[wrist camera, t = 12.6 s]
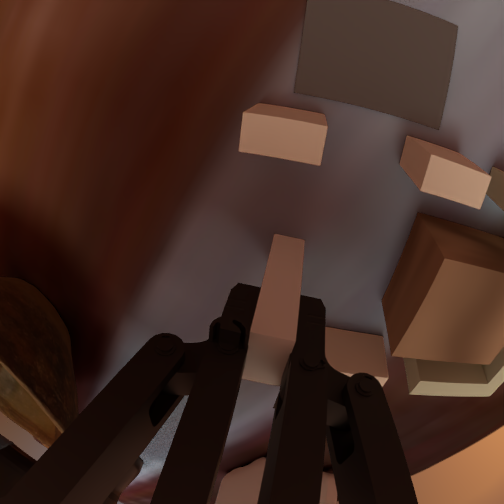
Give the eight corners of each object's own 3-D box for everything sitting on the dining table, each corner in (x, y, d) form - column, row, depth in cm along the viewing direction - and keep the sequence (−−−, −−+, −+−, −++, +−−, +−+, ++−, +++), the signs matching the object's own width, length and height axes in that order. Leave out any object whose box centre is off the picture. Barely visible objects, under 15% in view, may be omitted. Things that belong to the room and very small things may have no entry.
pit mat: (294, 91, 13) (293, 92, 13) (310, -14, 10) (309, -18, 10) (434, 127, 13) (438, 130, 12) (453, 27, 10) (457, 26, 9)
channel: (232, 324, 21) (219, 364, 18) (258, 102, 13) (243, 112, 11) (374, 350, 20) (378, 391, 17) (459, 153, 13) (491, 176, 10)
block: (381, 299, 18) (391, 355, 14) (416, 210, 15) (444, 258, 11) (469, 314, 18) (489, 364, 14) (510, 239, 14) (545, 284, 11)
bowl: (-42, 268, 27) (-89, 316, 19) (3, 165, 18) (-97, 230, 9) (63, 389, 35) (31, 444, 27) (171, 370, 26) (129, 469, 17)
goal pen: (402, 354, 20) (409, 394, 17) (492, 166, 12) (526, 192, 10) (478, 361, 19) (489, 396, 17) (569, 204, 12) (599, 232, 9)
